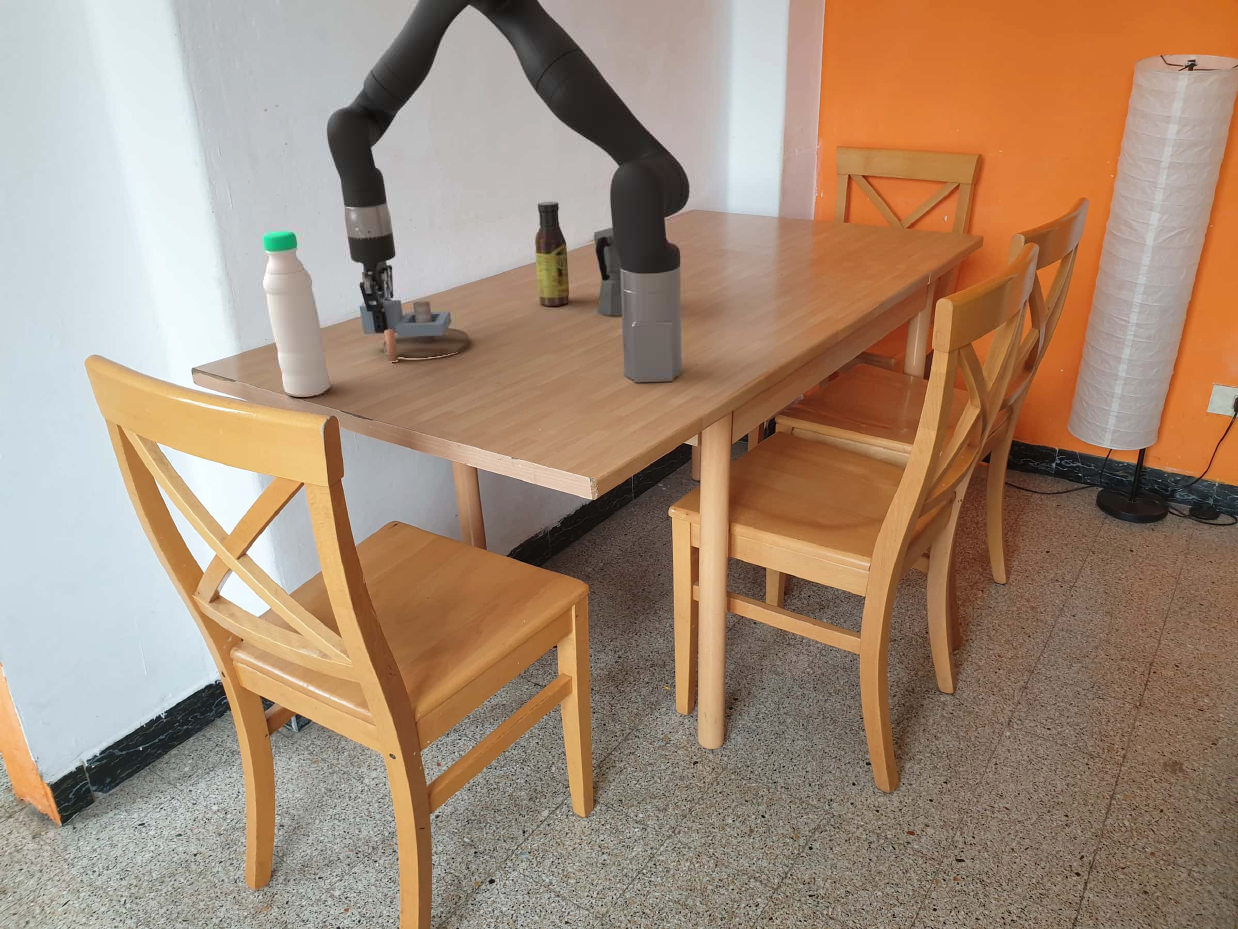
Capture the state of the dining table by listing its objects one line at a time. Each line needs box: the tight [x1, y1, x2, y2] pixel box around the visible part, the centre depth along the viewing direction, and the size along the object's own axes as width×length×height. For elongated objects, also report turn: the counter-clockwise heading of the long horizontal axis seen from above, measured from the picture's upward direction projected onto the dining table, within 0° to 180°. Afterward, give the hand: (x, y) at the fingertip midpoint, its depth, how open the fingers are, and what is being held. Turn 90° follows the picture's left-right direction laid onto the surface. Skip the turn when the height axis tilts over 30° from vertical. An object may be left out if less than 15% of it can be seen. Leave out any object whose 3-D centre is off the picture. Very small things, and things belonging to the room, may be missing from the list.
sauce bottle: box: [534, 201, 570, 307], centre depth 190 cm, size 7×6×20 cm
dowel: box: [383, 329, 399, 362], centre depth 163 cm, size 2×2×6 cm
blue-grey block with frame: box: [359, 299, 452, 337], centre depth 169 cm, size 14×8×5 cm, turn 89°
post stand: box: [383, 300, 470, 358], centre depth 169 cm, size 15×15×8 cm
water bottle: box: [262, 230, 331, 395], centre depth 147 cm, size 7×7×25 cm
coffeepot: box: [593, 227, 622, 318], centre depth 182 cm, size 15×9×18 cm, turn 156°
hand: (384, 328), depth 170 cm, fingers closed on blue-grey block with frame, 3 cm apart
